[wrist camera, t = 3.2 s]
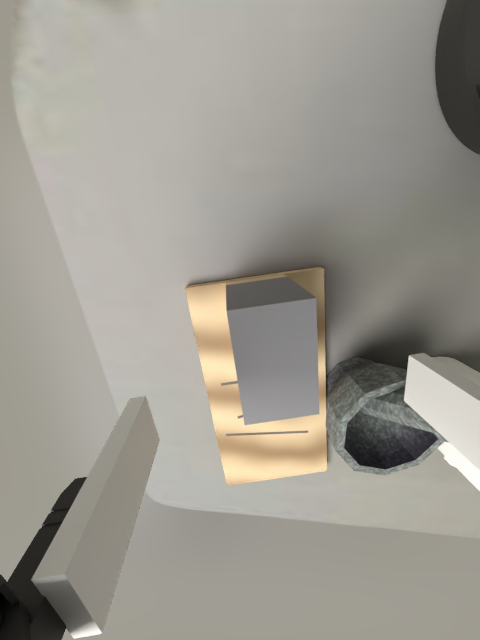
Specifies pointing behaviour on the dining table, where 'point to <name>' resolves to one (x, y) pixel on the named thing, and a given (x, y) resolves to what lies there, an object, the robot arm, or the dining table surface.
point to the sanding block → (274, 348)
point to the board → (224, 398)
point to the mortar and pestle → (375, 418)
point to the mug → (451, 453)
